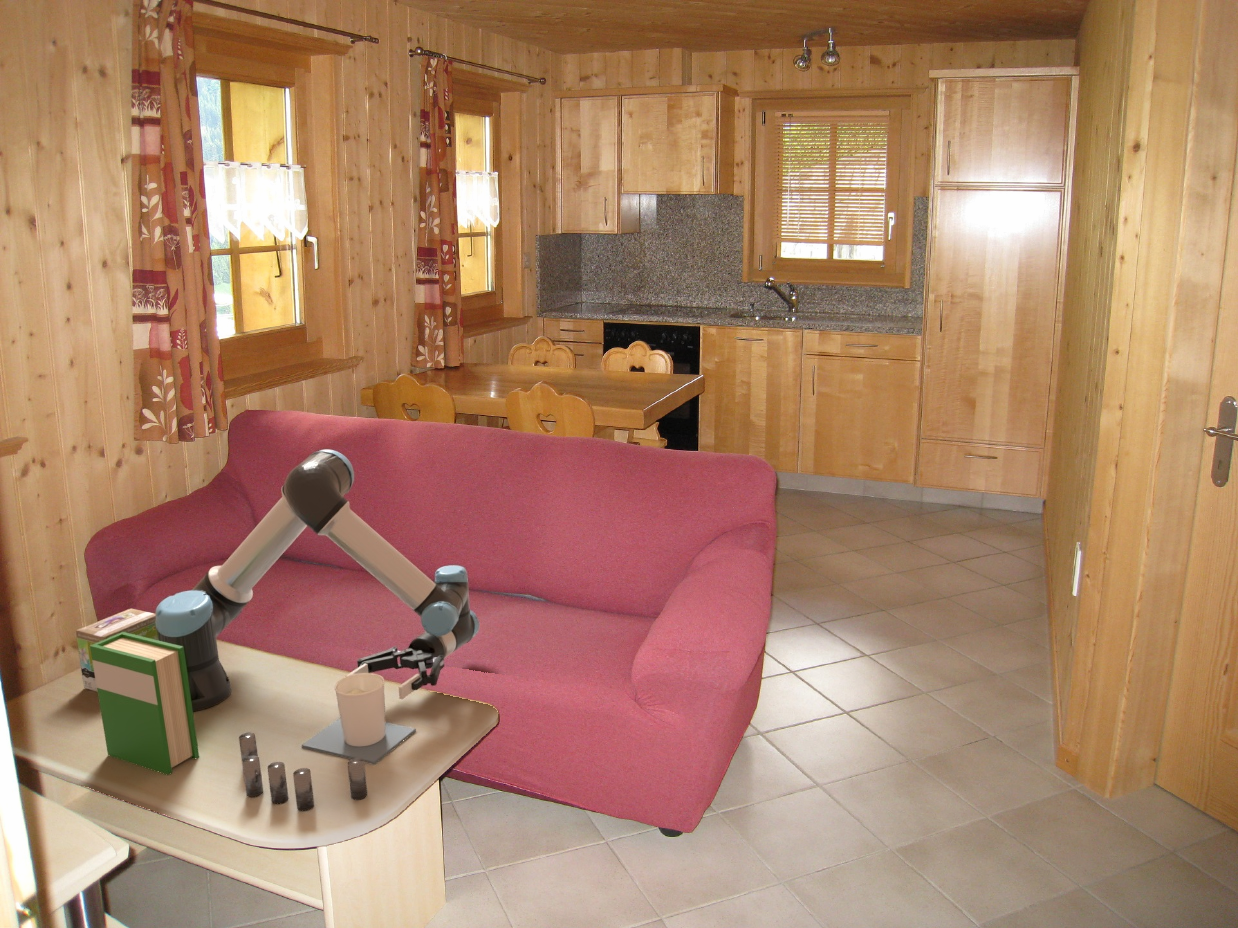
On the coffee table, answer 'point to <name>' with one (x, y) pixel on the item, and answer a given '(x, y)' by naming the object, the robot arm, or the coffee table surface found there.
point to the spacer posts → (300, 776)
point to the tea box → (106, 628)
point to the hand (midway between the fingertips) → (373, 687)
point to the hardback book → (145, 701)
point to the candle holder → (361, 708)
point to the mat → (335, 744)
